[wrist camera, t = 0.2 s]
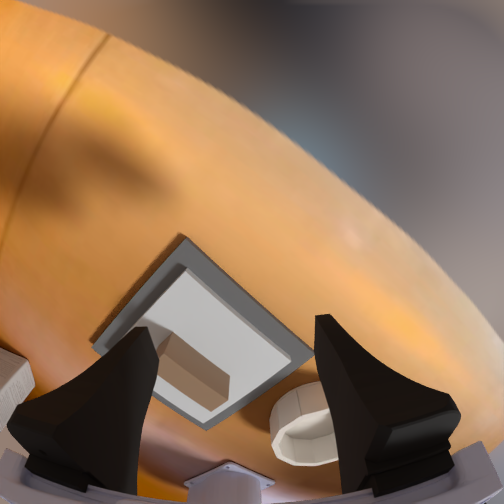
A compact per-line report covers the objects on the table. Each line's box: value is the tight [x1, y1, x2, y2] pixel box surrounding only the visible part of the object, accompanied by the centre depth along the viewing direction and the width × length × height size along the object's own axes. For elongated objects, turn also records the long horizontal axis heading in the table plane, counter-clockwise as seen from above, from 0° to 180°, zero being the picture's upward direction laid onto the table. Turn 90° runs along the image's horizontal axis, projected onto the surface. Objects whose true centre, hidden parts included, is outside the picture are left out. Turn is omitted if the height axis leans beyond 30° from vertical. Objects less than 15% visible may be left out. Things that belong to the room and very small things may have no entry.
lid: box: [119, 268, 291, 423], centre depth 22 cm, size 11×11×4 cm
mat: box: [91, 237, 315, 431], centre depth 24 cm, size 14×14×1 cm
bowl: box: [269, 381, 339, 466], centre depth 25 cm, size 9×9×4 cm
